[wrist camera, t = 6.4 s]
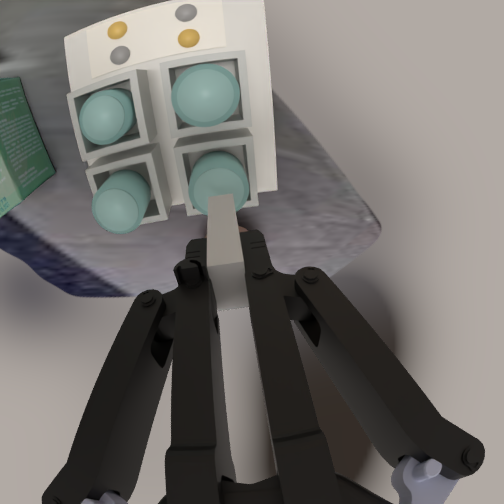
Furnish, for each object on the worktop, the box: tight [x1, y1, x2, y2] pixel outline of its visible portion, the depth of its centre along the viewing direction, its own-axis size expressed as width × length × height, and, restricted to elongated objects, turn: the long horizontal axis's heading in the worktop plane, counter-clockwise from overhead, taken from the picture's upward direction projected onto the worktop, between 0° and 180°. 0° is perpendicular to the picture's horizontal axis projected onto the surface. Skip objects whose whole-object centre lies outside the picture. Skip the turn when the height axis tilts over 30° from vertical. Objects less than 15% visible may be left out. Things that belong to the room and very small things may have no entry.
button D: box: [188, 151, 249, 216], centre depth 20 cm, size 4×4×3 cm
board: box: [64, 0, 277, 231], centre depth 19 cm, size 20×18×6 cm
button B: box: [92, 169, 151, 234], centre depth 20 cm, size 4×4×3 cm
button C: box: [171, 64, 240, 127], centre depth 16 cm, size 4×4×3 cm
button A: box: [79, 88, 137, 145], centre depth 17 cm, size 4×4×3 cm
